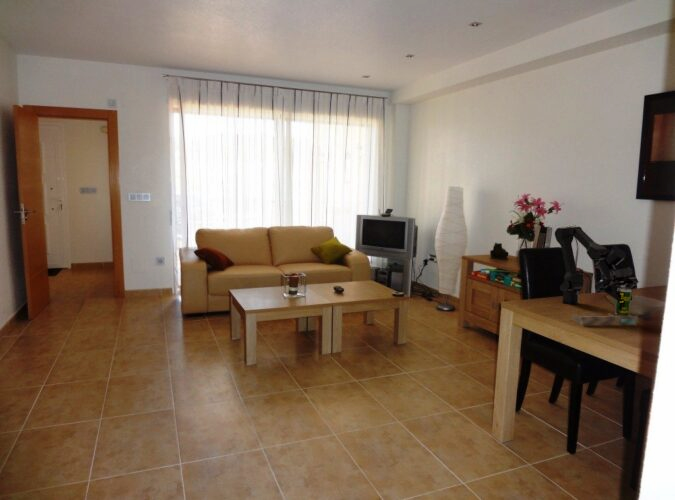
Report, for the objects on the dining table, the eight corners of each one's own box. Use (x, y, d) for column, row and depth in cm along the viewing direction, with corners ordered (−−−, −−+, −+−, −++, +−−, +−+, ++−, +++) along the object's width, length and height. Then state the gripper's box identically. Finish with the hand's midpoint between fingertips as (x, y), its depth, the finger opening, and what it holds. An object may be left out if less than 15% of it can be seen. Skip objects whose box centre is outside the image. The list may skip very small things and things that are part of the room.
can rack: (581, 325, 200) (582, 316, 200) (571, 319, 209) (572, 311, 208) (637, 325, 200) (638, 316, 199) (625, 319, 209) (626, 310, 208)
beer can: (613, 312, 207) (615, 286, 205) (626, 313, 206) (629, 287, 204) (617, 315, 202) (620, 289, 200) (630, 316, 201) (633, 290, 199)
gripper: (602, 262, 202) (619, 292, 193) (637, 260, 206) (656, 290, 197) (587, 275, 211) (603, 305, 202) (621, 273, 215) (638, 302, 206)
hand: (625, 300), depth 202 cm, fingers closed on beer can, 5 cm apart
